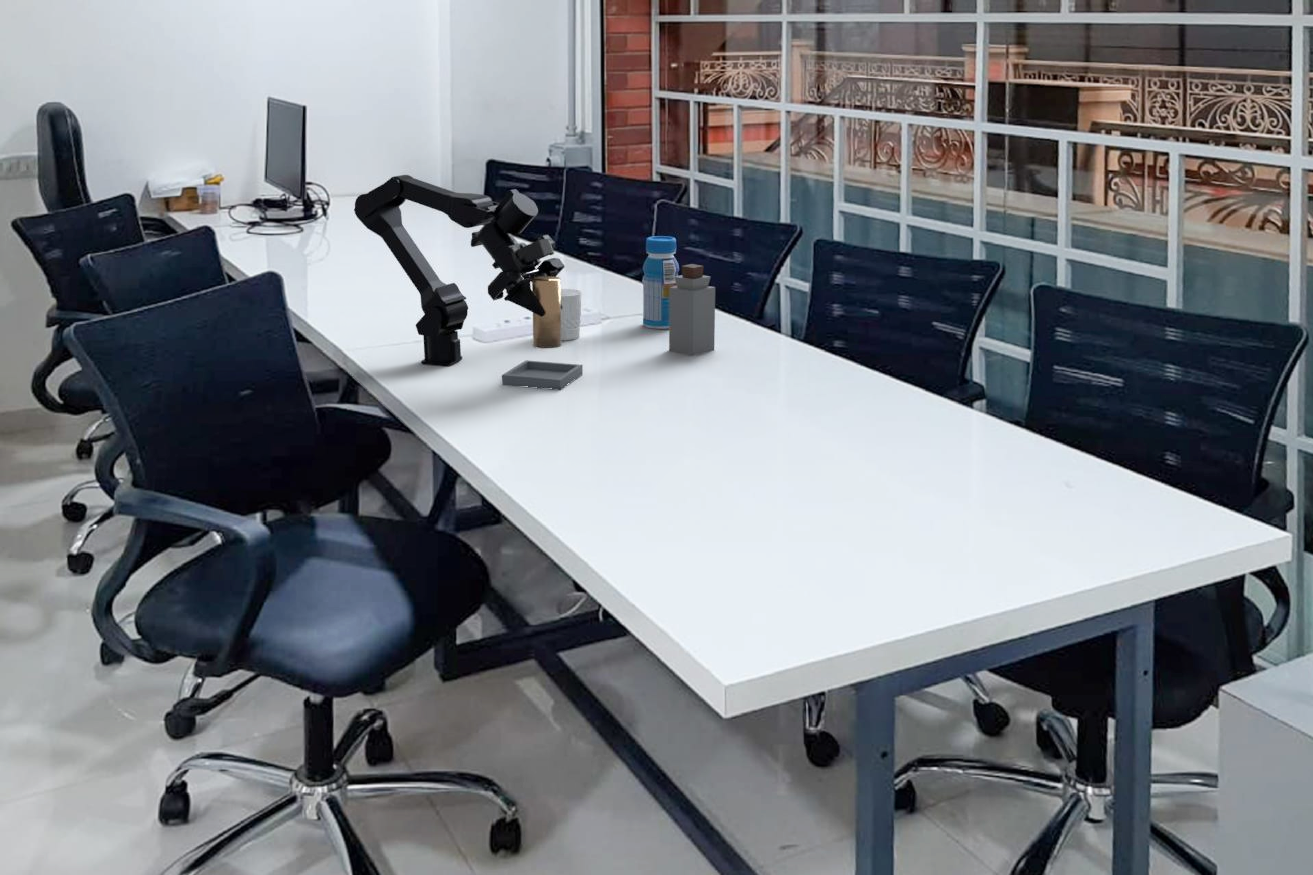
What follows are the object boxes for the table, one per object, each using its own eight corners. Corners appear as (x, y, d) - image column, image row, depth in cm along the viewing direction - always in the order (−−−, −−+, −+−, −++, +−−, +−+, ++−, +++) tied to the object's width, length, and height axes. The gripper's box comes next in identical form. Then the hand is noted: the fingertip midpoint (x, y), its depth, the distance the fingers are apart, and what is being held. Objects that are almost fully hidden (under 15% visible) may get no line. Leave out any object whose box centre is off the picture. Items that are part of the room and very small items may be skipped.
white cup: (563, 331, 309) (562, 287, 306) (589, 336, 304) (588, 291, 301) (538, 337, 303) (537, 292, 300) (565, 343, 298) (564, 297, 295)
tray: (502, 385, 265) (501, 375, 265) (526, 370, 276) (525, 360, 276) (560, 390, 262) (560, 380, 261) (582, 374, 273) (582, 364, 272)
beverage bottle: (639, 329, 311) (639, 240, 305) (645, 321, 319) (645, 234, 313) (676, 330, 310) (676, 241, 304) (682, 322, 318) (682, 235, 311)
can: (527, 344, 268) (526, 278, 264) (550, 340, 272) (549, 275, 268) (544, 349, 264) (543, 282, 260) (566, 345, 268) (566, 279, 264)
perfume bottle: (714, 350, 292) (715, 265, 287) (692, 355, 288) (693, 270, 282) (690, 344, 297) (691, 261, 291) (669, 350, 292) (669, 266, 287)
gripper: (498, 229, 255) (548, 295, 253) (556, 216, 271) (603, 278, 269) (466, 267, 261) (514, 331, 259) (523, 252, 277) (570, 313, 275)
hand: (552, 312), depth 265 cm, fingers closed on can, 5 cm apart
